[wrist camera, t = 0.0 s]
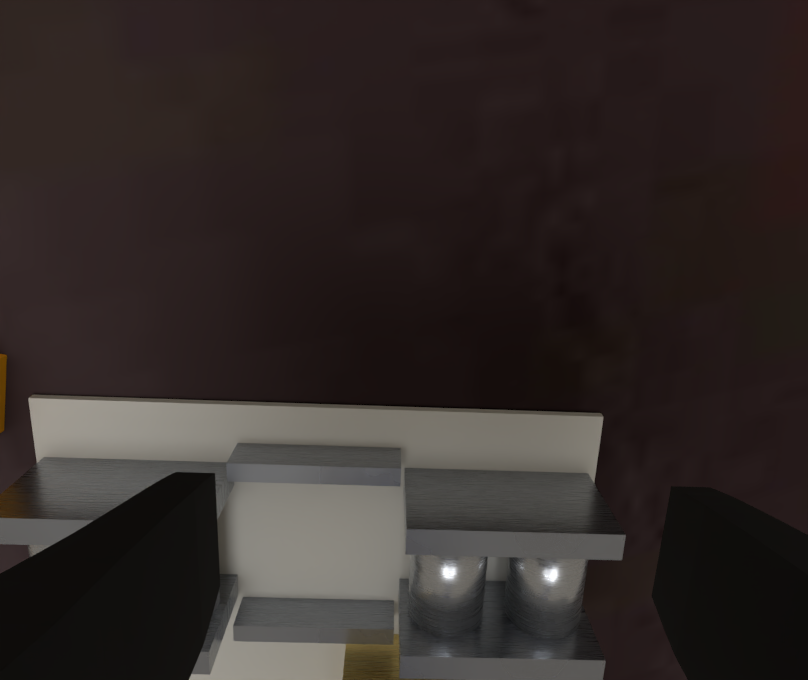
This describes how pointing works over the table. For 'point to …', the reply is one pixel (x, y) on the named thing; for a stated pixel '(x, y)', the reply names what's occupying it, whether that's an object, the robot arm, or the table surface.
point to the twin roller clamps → (425, 543)
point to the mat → (312, 492)
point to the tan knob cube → (373, 662)
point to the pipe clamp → (2, 389)
